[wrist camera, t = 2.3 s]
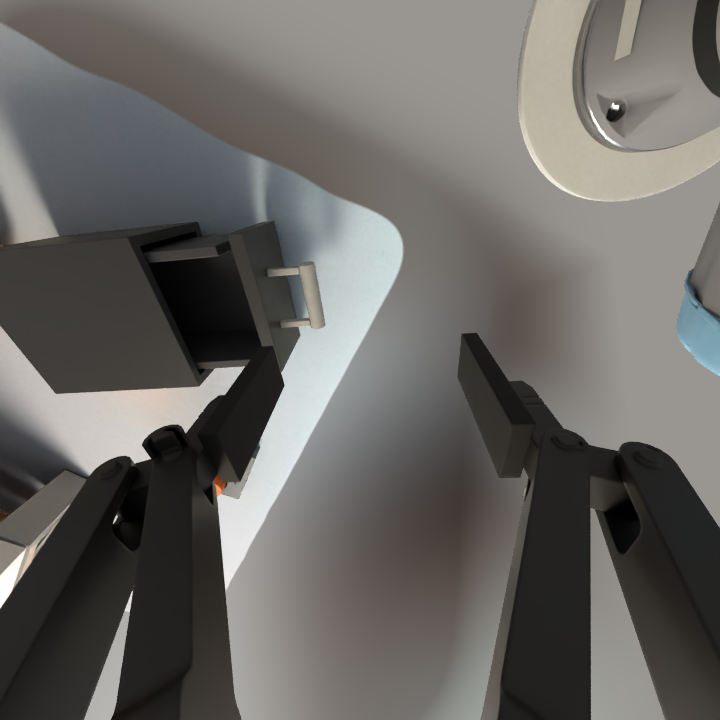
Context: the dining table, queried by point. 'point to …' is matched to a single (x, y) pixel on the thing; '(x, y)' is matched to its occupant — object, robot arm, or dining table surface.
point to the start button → (219, 484)
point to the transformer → (32, 527)
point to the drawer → (233, 294)
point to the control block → (236, 487)
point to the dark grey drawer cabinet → (95, 312)
